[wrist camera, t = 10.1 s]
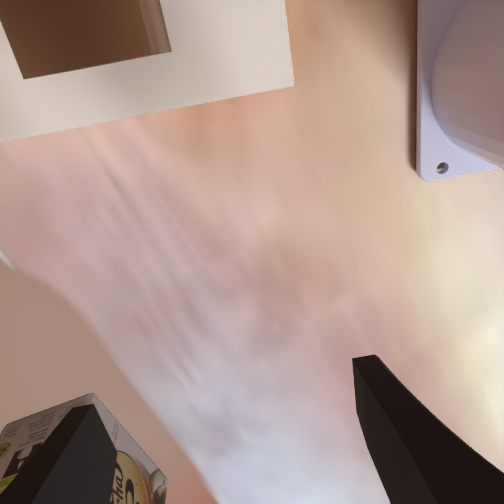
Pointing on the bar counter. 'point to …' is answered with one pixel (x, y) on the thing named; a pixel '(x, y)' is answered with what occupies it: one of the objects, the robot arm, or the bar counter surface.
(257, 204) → the bar counter surface
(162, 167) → the bar counter surface
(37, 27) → the rail
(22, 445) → the coffee box
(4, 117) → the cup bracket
